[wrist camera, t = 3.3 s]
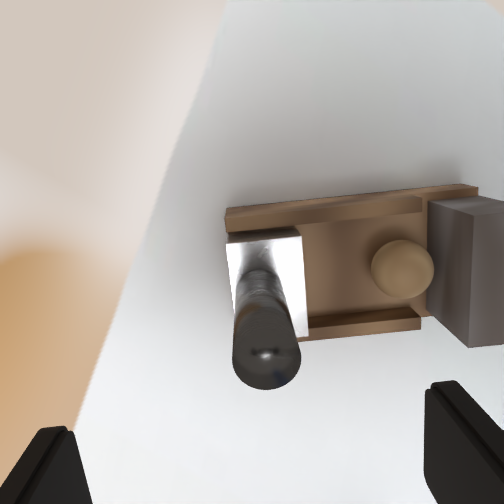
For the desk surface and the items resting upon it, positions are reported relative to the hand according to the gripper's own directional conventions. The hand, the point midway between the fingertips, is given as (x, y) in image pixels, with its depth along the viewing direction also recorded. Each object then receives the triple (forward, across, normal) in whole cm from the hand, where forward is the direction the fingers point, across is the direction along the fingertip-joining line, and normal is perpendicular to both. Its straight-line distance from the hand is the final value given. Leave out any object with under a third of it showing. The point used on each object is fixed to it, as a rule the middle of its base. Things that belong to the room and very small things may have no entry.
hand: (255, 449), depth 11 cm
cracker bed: (+17, -7, 0) cm, 18 cm away
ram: (+15, -1, 0) cm, 15 cm away
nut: (+15, -9, 0) cm, 17 cm away
